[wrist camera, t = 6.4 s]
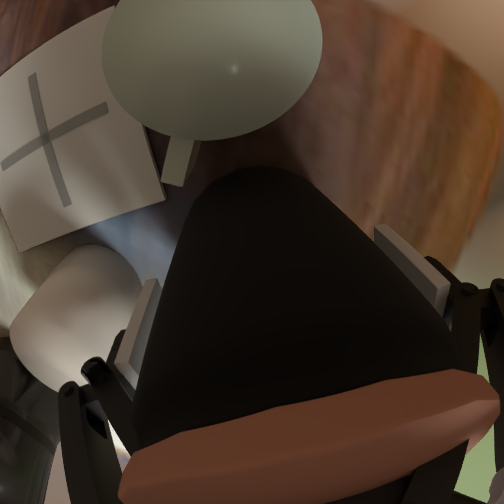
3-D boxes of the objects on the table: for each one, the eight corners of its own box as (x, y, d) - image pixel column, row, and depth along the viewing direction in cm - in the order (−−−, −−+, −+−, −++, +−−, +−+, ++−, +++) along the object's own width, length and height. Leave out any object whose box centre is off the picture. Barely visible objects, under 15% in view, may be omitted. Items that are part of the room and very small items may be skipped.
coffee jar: (191, 297, 23) (170, 532, 7) (180, 164, 18) (14, 420, 2) (319, 292, 24) (405, 498, 8) (335, 165, 19) (564, 339, 3)
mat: (23, 249, 20) (19, 253, 19) (-23, 100, 13) (-28, 101, 12) (166, 197, 19) (164, 200, 19) (116, 7, 12) (113, 5, 12)
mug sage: (177, 9, 13) (145, -54, 5) (294, 37, 15) (344, -12, 7) (135, 146, 17) (71, 175, 9) (249, 173, 19) (265, 220, 11)
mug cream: (96, 225, 20) (37, 292, 12) (162, 298, 23) (140, 384, 15) (37, 286, 22) (-10, 350, 14) (93, 342, 25) (65, 413, 17)
